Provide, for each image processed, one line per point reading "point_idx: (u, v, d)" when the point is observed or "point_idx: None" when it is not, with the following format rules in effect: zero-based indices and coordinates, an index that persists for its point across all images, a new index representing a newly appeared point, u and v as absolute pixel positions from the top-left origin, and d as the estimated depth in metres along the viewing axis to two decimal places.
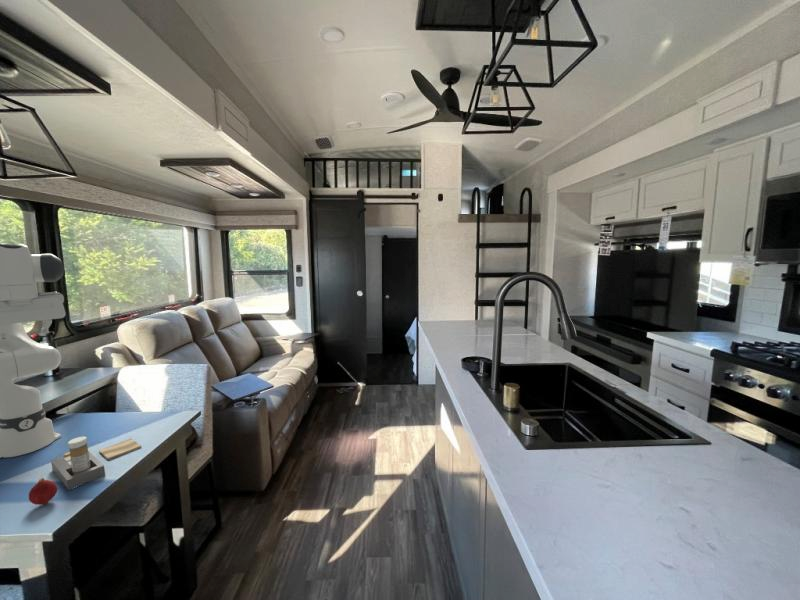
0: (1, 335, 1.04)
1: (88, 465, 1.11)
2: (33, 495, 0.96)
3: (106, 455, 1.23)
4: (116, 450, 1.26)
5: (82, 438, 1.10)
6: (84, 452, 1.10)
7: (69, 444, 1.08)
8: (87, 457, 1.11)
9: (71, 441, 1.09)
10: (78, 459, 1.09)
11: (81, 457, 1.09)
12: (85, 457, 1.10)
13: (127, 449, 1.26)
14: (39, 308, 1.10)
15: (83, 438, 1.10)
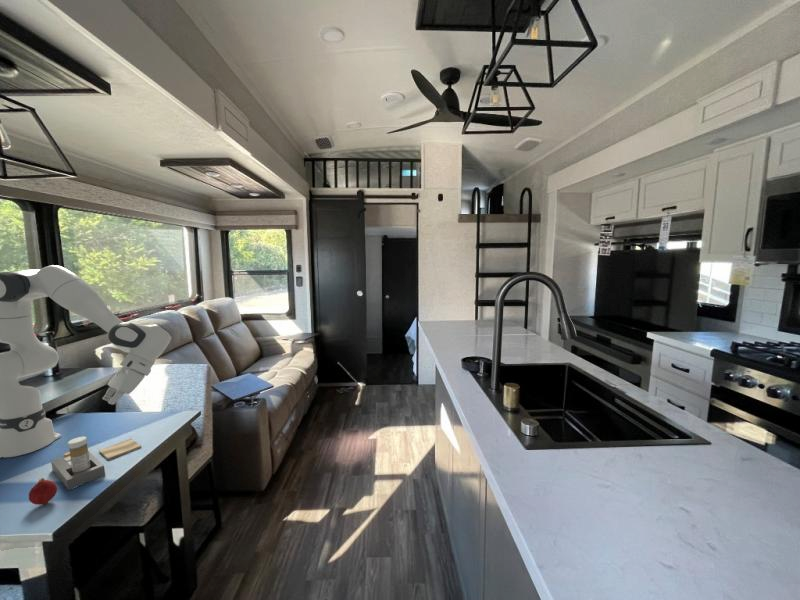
0: None
1: (88, 465, 1.11)
2: (32, 495, 0.96)
3: (106, 455, 1.23)
4: (116, 450, 1.26)
5: (82, 438, 1.10)
6: (84, 452, 1.10)
7: (69, 444, 1.08)
8: (87, 457, 1.11)
9: (71, 441, 1.09)
10: (78, 459, 1.09)
11: (81, 457, 1.09)
12: (85, 457, 1.10)
13: (127, 449, 1.26)
14: None
15: (83, 438, 1.10)
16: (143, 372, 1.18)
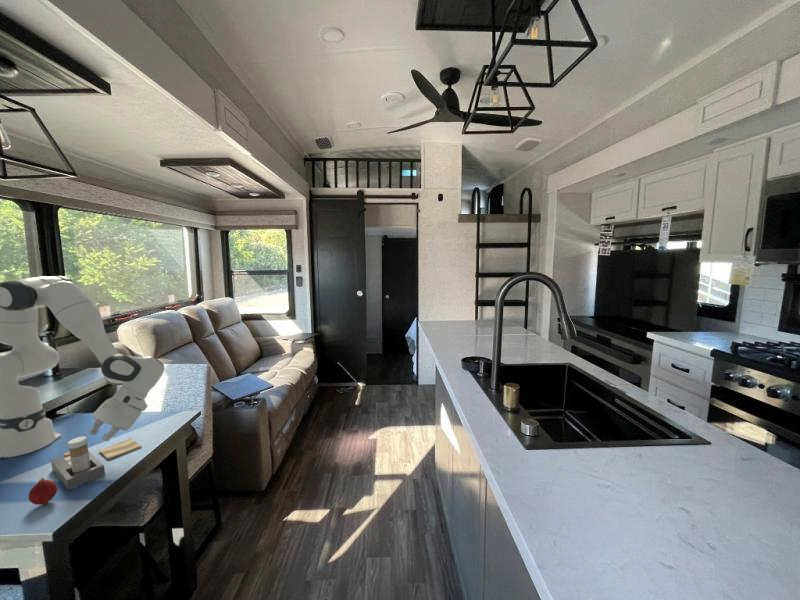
0: None
1: (88, 465, 1.11)
2: (32, 495, 0.96)
3: (106, 455, 1.23)
4: (116, 450, 1.26)
5: (82, 438, 1.10)
6: (84, 452, 1.10)
7: (69, 444, 1.08)
8: (87, 457, 1.11)
9: (71, 441, 1.09)
10: (78, 459, 1.09)
11: (81, 457, 1.09)
12: (85, 457, 1.10)
13: (127, 449, 1.26)
14: None
15: (83, 438, 1.10)
16: (140, 408, 1.18)
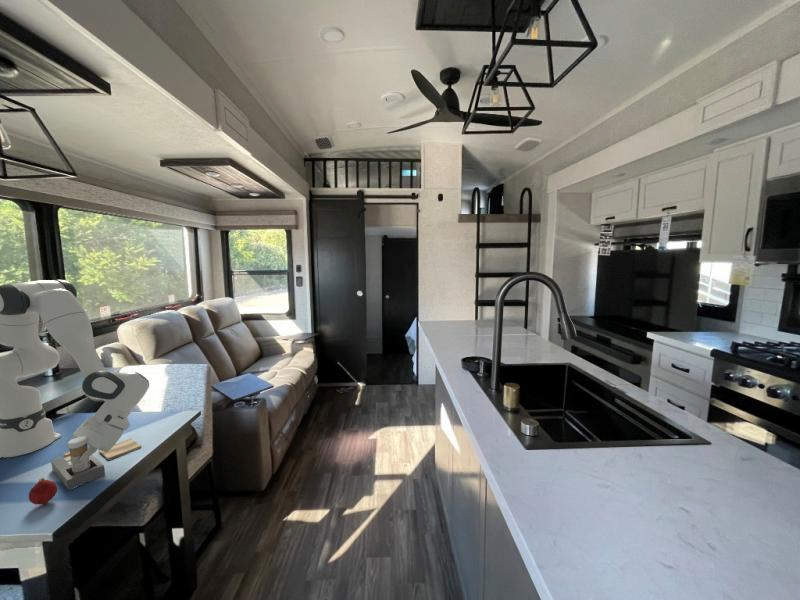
0: None
1: (88, 465, 1.11)
2: (32, 495, 0.96)
3: (106, 455, 1.23)
4: (116, 450, 1.26)
5: (82, 438, 1.10)
6: (84, 452, 1.10)
7: (69, 444, 1.08)
8: None
9: (71, 441, 1.09)
10: (78, 459, 1.09)
11: None
12: None
13: (127, 449, 1.26)
14: None
15: (83, 438, 1.10)
16: (123, 427, 1.14)
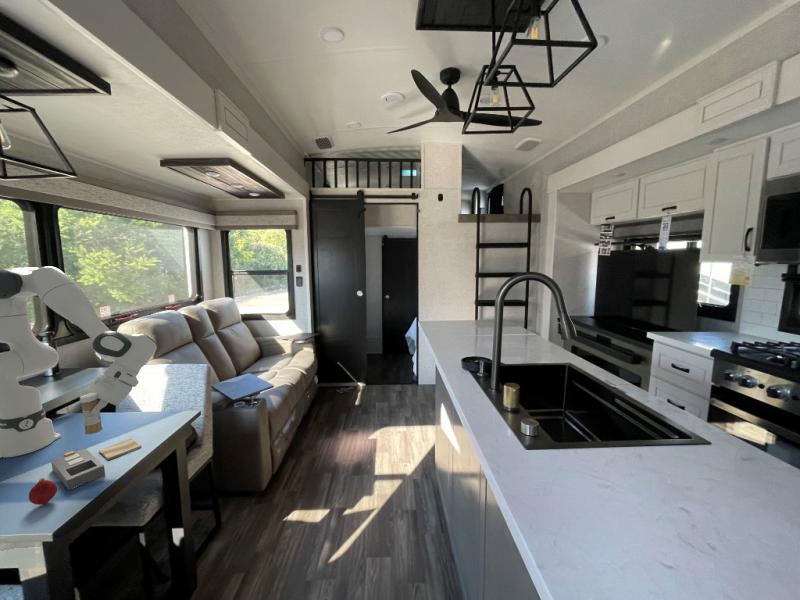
0: None
1: (99, 420, 1.16)
2: (33, 495, 0.96)
3: (106, 455, 1.23)
4: (116, 450, 1.26)
5: (93, 393, 1.16)
6: None
7: (81, 398, 1.13)
8: (98, 412, 1.16)
9: (83, 396, 1.14)
10: (89, 413, 1.14)
11: None
12: None
13: (127, 449, 1.26)
14: None
15: (94, 393, 1.16)
16: (131, 383, 1.19)
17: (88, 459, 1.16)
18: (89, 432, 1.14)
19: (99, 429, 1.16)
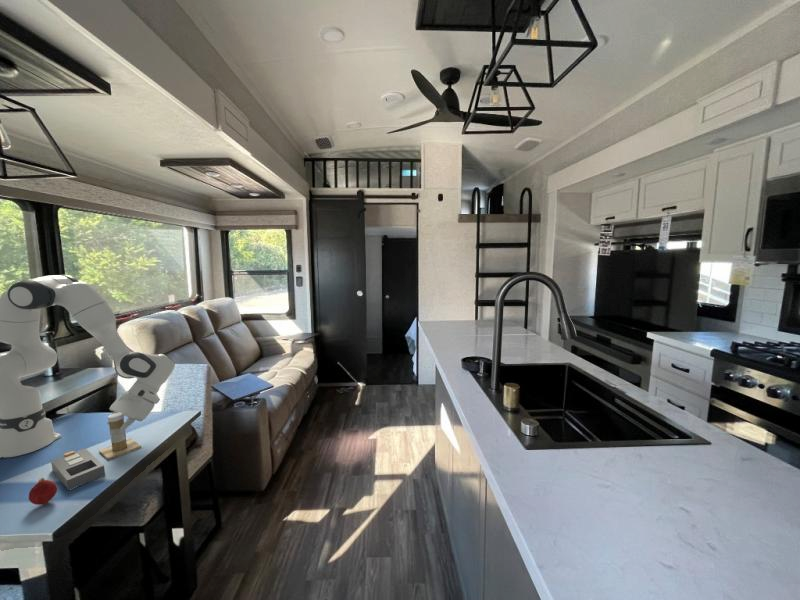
0: None
1: (124, 437, 1.27)
2: (32, 495, 0.96)
3: (106, 455, 1.23)
4: None
5: (119, 413, 1.27)
6: None
7: (109, 418, 1.24)
8: None
9: (110, 416, 1.25)
10: (116, 431, 1.25)
11: (119, 429, 1.25)
12: None
13: (127, 449, 1.26)
14: None
15: (120, 413, 1.27)
16: (154, 401, 1.30)
17: (88, 459, 1.16)
18: (116, 449, 1.25)
19: (124, 446, 1.27)
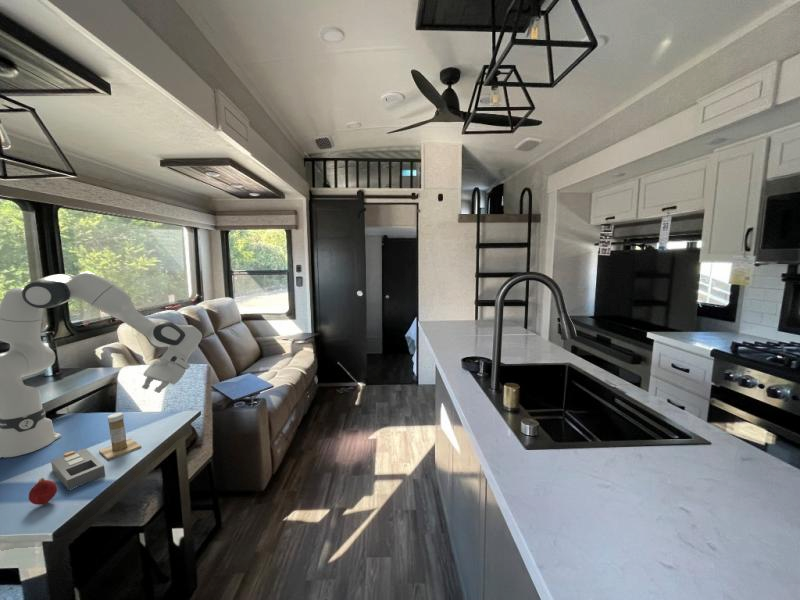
0: None
1: (124, 437, 1.27)
2: (32, 495, 0.96)
3: (106, 455, 1.23)
4: None
5: (119, 413, 1.26)
6: (121, 426, 1.26)
7: (109, 418, 1.24)
8: (123, 430, 1.27)
9: (110, 416, 1.25)
10: (116, 431, 1.25)
11: (119, 430, 1.25)
12: (122, 430, 1.26)
13: (127, 449, 1.26)
14: None
15: (120, 413, 1.26)
16: (185, 366, 1.40)
17: (88, 459, 1.16)
18: (116, 449, 1.25)
19: (124, 446, 1.27)
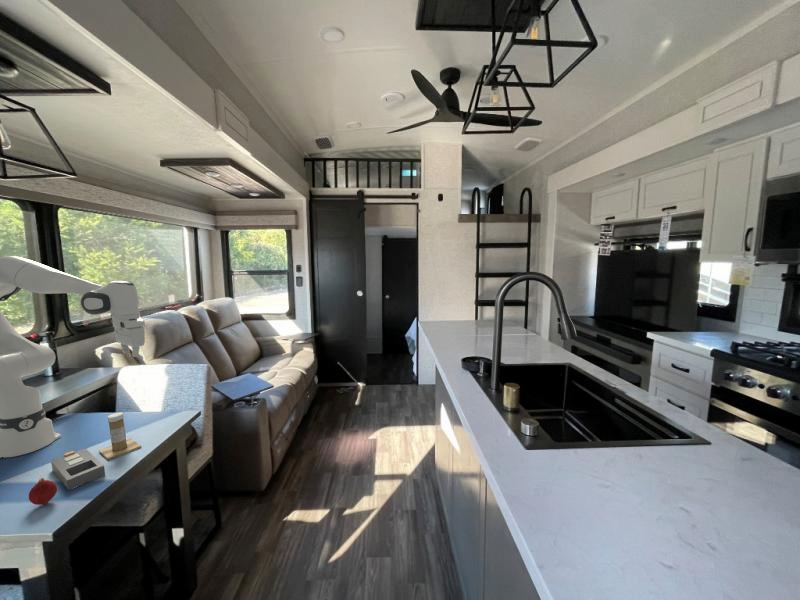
0: None
1: (124, 437, 1.27)
2: (32, 495, 0.96)
3: (106, 455, 1.23)
4: None
5: (119, 413, 1.26)
6: (121, 426, 1.26)
7: (109, 418, 1.24)
8: (123, 430, 1.27)
9: (110, 416, 1.25)
10: (116, 431, 1.25)
11: (119, 429, 1.25)
12: (122, 430, 1.26)
13: (127, 449, 1.26)
14: None
15: (120, 413, 1.26)
16: (139, 325, 1.30)
17: (88, 459, 1.16)
18: (116, 449, 1.25)
19: (125, 446, 1.27)
